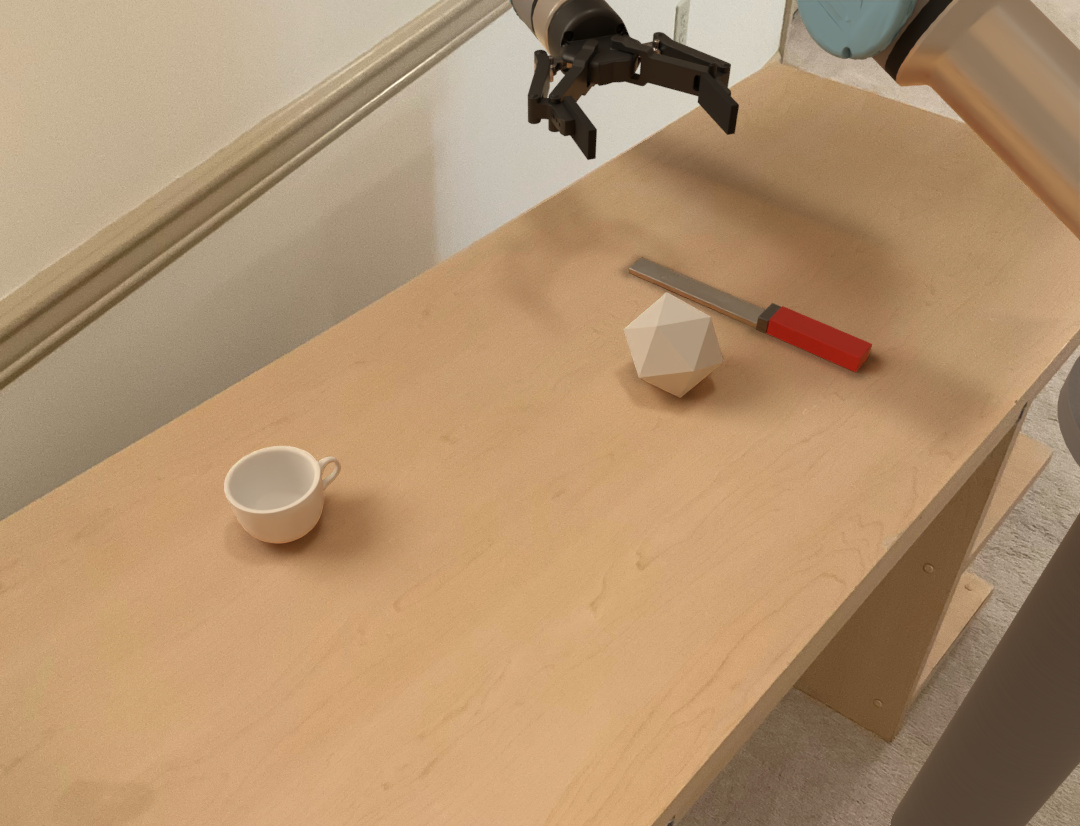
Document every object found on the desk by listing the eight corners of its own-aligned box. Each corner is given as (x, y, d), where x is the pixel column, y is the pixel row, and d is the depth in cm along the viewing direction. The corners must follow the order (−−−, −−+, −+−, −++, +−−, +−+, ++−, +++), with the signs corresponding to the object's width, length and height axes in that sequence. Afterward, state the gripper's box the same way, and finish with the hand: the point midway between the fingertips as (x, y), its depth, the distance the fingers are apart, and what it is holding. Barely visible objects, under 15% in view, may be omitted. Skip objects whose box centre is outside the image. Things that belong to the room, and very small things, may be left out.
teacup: (267, 571, 83) (253, 529, 79) (221, 517, 87) (206, 474, 83) (369, 514, 88) (361, 470, 83) (321, 464, 91) (311, 420, 87)
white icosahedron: (734, 386, 99) (722, 282, 97) (712, 400, 92) (698, 287, 89) (651, 395, 103) (638, 295, 101) (623, 410, 95) (608, 302, 93)
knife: (868, 357, 101) (873, 343, 100) (855, 373, 100) (859, 358, 98) (642, 260, 112) (643, 246, 110) (627, 273, 110) (628, 259, 109)
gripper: (689, 52, 109) (781, 148, 96) (465, 88, 103) (531, 195, 91) (697, -23, 103) (797, 69, 90) (460, 11, 98) (530, 113, 85)
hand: (664, 132), depth 90 cm, fingers open, 13 cm apart
